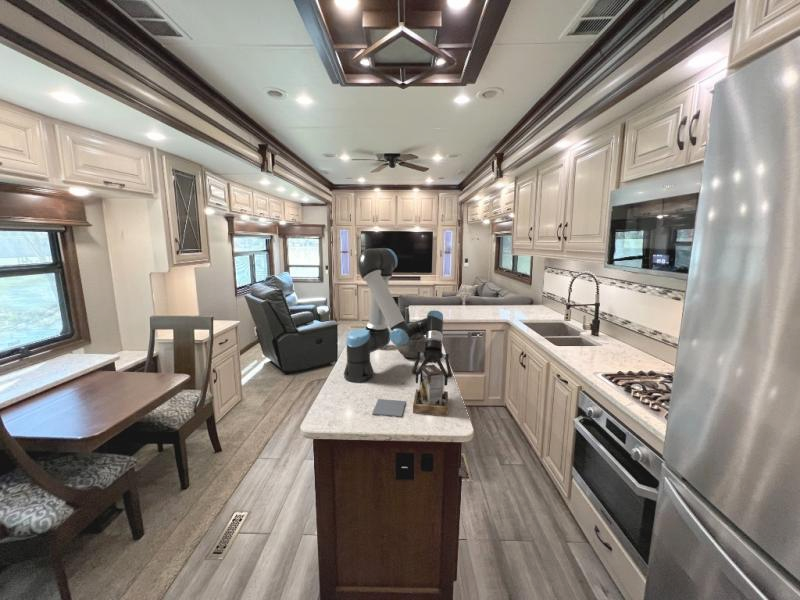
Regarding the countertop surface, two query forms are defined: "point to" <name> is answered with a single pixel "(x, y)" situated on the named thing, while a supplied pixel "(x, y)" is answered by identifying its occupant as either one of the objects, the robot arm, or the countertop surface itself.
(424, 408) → the walnut frame
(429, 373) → the coffee box
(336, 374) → the countertop surface
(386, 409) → the slate mat
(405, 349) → the bowl
